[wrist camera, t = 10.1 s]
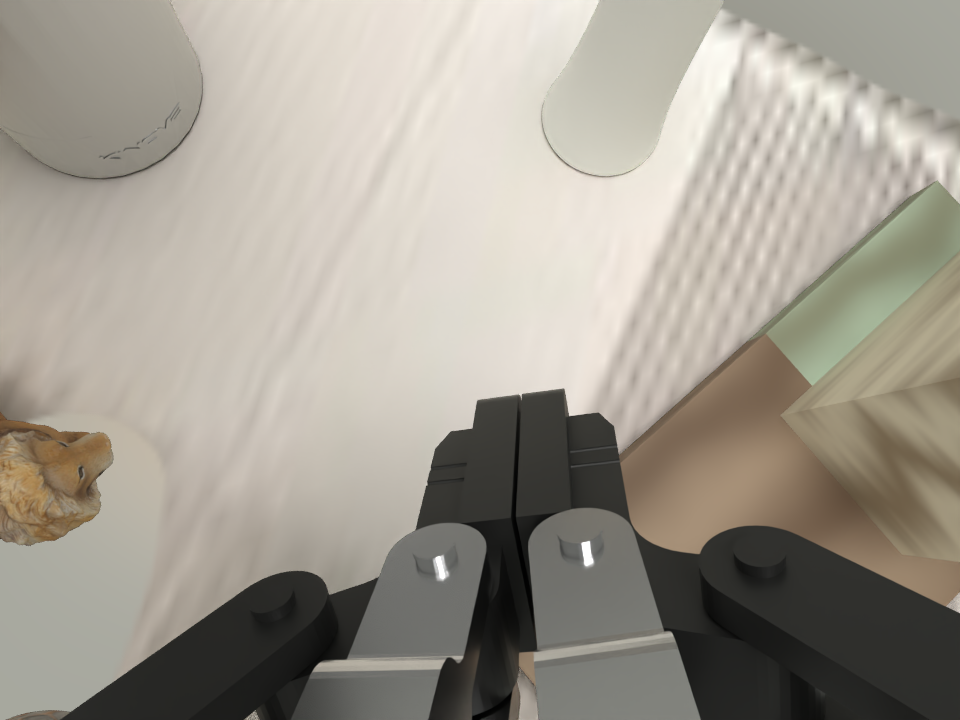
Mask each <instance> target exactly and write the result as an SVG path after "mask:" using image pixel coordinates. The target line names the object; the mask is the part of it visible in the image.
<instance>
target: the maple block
mask: <svg viewBox="0 0 960 720" xmlns="http://www.w3.org/2000/svg"><path fill="white" fill-rule="evenodd" d="M780 416H781V417H782V418H783V419H784V420H785V421H786V423H787V424H788V425H789V426H790V427H791V428H792V429H793V431H794V432H795V433H796V434H797V435H798V436H799V437H800V439H801V440H802V441H803V442H804V443H805V444H806V445H807V447H808V448H809V449H810V450H811V451H812V452H813V453H814V455H815V456H816V457H817V458H818V459H819V460H820V461H821V463H822V464H823V465H824V466H825V467H826V468H827V469H828V471H829V472H830V473H831V474H832V475H833V476H834V477H835V479H836V480H837V481H838V482H839V483H840V484H841V485H842V487H843V488H844V489H845V490H846V491H847V492H848V493H849V495H850V496H851V497H852V498H853V499H854V500H855V501H856V503H857V504H858V505H859V506H860V507H861V508H862V509H863V511H864V512H865V513H866V514H867V515H868V516H869V517H870V519H871V520H872V521H873V522H874V523H875V524H876V525H877V527H878V528H879V529H880V530H881V531H882V532H883V534H884V535H885V536H886V537H887V538H888V539H889V540H890V542H891V543H892V544H893V545H894V546H895V547H896V548H897V550H898V551H899V552H900V553H901V554H902V555H909V556H917V557H925V558H932V559H940V560H948V561H956V562H960V251H959V252H958V253H957V254H956V255H955V256H954V257H952V258H951V259H950V260H949V261H948V262H947V263H946V264H945V265H944V266H943V267H942V268H940V269H939V270H938V271H937V272H936V273H935V274H934V275H933V276H932V277H931V278H930V279H928V280H927V281H926V282H925V283H924V284H923V285H922V286H921V287H920V288H919V289H918V290H916V291H915V292H914V293H913V294H912V295H911V296H910V297H909V298H908V299H907V300H906V301H904V302H903V303H902V304H901V305H900V306H899V307H898V308H897V309H896V310H895V311H894V312H892V313H891V314H890V315H889V316H888V317H887V318H886V319H885V320H884V321H883V322H882V323H880V324H879V325H878V326H877V327H876V328H875V329H874V330H873V331H872V332H871V333H870V334H868V335H867V336H866V337H865V338H864V339H863V340H862V341H861V342H860V343H859V344H858V345H856V346H855V347H854V348H853V349H852V350H851V351H850V352H849V353H848V354H847V355H846V356H844V357H843V358H842V359H841V360H840V361H839V362H838V363H837V364H836V365H835V366H834V367H832V368H831V369H830V370H829V371H828V372H827V373H826V374H825V375H824V376H823V377H821V378H820V379H819V380H818V381H817V382H816V383H815V384H814V385H813V386H812V387H811V388H809V389H808V390H807V391H806V392H805V393H804V394H803V395H802V396H801V397H800V398H799V399H797V400H796V401H795V402H794V403H793V404H792V405H791V406H790V407H789V408H788V409H787V410H785V411H784V412H783V413H782V414H781V415H780Z"/></svg>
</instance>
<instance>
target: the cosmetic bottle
mask: <svg viewBox="0 0 960 720" xmlns="http://www.w3.org/2000/svg"><path fill="white" fill-rule="evenodd" d="M724 1H725V0H600V1H599V3H598V5H597V7H596V9H595V12H594V14H593V16H592V18H591V20H590V22H589V24H588V26H587V28H586V30H585V32H584V34H583V36H582V38H581V40H580V42H579V44H578V46H577V47H576V49H575V51H574V53H573V55H572V56H571V58H570V60H569V61H568V63H567V64H566V66H565V68H564V69H563V71H562V72H561V73H560V75H559V76H558V78H557V79H556V80H555V82H554V83H553V84H552V85H551V87H550V89H549V90H548V92H547V95H546V97H545V100H544V103H543V109H542V122H543V128H544V132H545V135H546V137H547V140H548V141H549V143H550V145H551V147H552V148H553V150H554V151H555V152H556V153H557V155H558V156H559V157H560V158H561V159H562V160H564V161H565V162H566V163H567V164H569V165H570V166H572V167H574V168H575V169H577V170H580V171H582V172H585V173H588V174H592V175H597V176H613V175H619V174H623V173H626V172H628V171H631V170H633V169H634V168H636V167H638V166H639V165H640V164H642V163H643V162H644V161H645V160H646V159H647V158H648V157H649V156H650V155H651V153H652V152H653V150H654V149H655V147H656V145H657V142H658V140H659V137H660V133H661V130H662V126H663V123H664V120H665V117H666V115H667V112H668V109H669V107H670V105H671V102H672V100H673V98H674V95H675V93H676V91H677V89H678V87H679V85H680V83H681V81H682V79H683V77H684V75H685V73H686V71H687V69H688V67H689V65H690V63H691V61H692V59H693V57H694V56H695V54H696V52H697V50H698V48H699V46H700V44H701V43H702V41H703V39H704V37H705V35H706V33H707V31H708V30H709V28H710V26H711V24H712V22H713V21H714V19H715V17H716V15H717V13H718V12H719V10H720V8H721V6H722V4H723V2H724Z"/></svg>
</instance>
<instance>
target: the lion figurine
mask: <svg viewBox="0 0 960 720" xmlns="http://www.w3.org/2000/svg"><path fill="white" fill-rule="evenodd" d="M112 463H113V453H112V450H111V443H110V440H109V438H108V437H107V435H106V434H104V433H100V432H97V433H91V434H90V433H87V432H67V431H66V432H58V431H57V430H55V429H53V428H51V427H49V426H45V425H36V424H30V423H26V422H19V421H11V420H7V419H6V418H5V417H4V416H3V415H2V413H1V412H0V539H3V541H5V542H15V543H17V544H18V545H27V546H31V545H33V544H35V543H40V542H44V541H55V540H57V539H58V538H60V537H63V536H65V535H66V534H67V533H68V532H69V531H71V530H73V529H75V528H77V527H79V526H80V525H81V524H83V523H84V522H88V521H90V520H92V519H93V518H94V517H95V516H96V515H97V514H98V513H99V511H100V507H101V502H100V501H99V498H100V496H101V494H100V492H99V491H98V489H97V483H96V479H97V477H98V476H100V475H101V474H102V473H103V472H104V471H105V470H106V469H107V468H108V467H109V466H110V465H111V464H112Z"/></svg>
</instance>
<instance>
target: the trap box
mask: <svg viewBox="0 0 960 720" xmlns="http://www.w3.org/2000/svg"><path fill="white" fill-rule="evenodd" d="M959 251H960V204H959V203H958V202H957V201H956V200H955V199H954V198H953V197H952V196H951V195H950V194H949V193H948V191H947V190H946V189H945V188H944V187H943V186H942V185H941V184H940V183H939V182H938V181H935V182H934V183H932V184H930V185H929V186H927V187H925V188H924V189H922V190H920V191H919V192H917V193H915V194H914V195H912V196H911V197H909V198H908V199H907V200H906V201H905V202H904V203H903V204H902V205H900V206H899V207H898V208H897V209H896V210H895V211H894V212H893V213H891V214H890V215H889V216H888V217H887V218H886V219H885V220H884V221H882V222H881V223H880V224H879V225H878V226H877V227H876V228H875V229H873V230H872V231H871V232H870V233H869V234H868V235H867V236H866V237H864V238H863V239H862V240H861V241H860V242H859V243H858V244H857V245H855V246H854V247H853V248H852V249H851V250H850V251H849V252H848V253H846V254H845V255H844V256H843V257H842V258H841V259H840V260H839V261H837V262H836V263H835V264H834V265H833V266H832V267H831V268H830V269H828V270H827V271H826V272H825V273H824V274H823V275H822V276H821V277H819V278H818V279H817V280H816V281H815V282H814V283H813V284H812V285H810V286H809V287H808V288H807V289H806V290H805V291H804V292H803V293H801V294H800V295H799V296H798V297H797V298H796V299H795V300H794V301H792V302H791V303H790V304H789V305H788V306H787V307H786V308H785V309H783V310H782V311H781V312H780V313H779V314H778V315H777V316H776V317H774V318H773V319H772V320H771V321H770V322H769V323H768V324H767V325H765V326H764V327H763V328H762V329H761V330H760V331H759V332H758V333H756V334H755V335H754V336H753V337H752V338H751V339H750V340H749V341H747V342H746V343H745V344H744V345H743V346H742V347H741V348H740V349H738V350H737V351H736V352H735V353H734V354H733V355H732V356H731V357H729V358H728V359H727V360H726V361H725V362H724V363H723V364H722V365H720V366H719V367H718V368H717V369H716V370H715V371H714V372H713V373H711V374H710V375H709V376H708V377H707V378H706V379H705V380H704V381H702V382H701V383H700V384H699V385H698V386H697V387H696V388H695V389H693V390H692V391H691V392H690V393H689V394H688V395H687V396H686V397H684V398H683V399H682V400H681V401H680V402H679V403H678V404H677V405H675V406H674V407H673V408H672V409H671V410H670V411H669V412H668V413H666V414H665V415H664V416H663V417H662V418H661V419H660V420H659V421H657V422H656V423H655V424H654V425H653V426H652V427H651V428H650V429H648V430H647V431H646V432H645V433H644V434H643V435H642V436H641V437H639V438H638V439H637V440H636V441H635V442H634V443H633V444H632V445H630V446H629V447H628V448H627V449H626V450H625V451H624V452H623V453H621V454H620V455H619V459H620V465H621V470H622V476H623V482H624V487H625V493H626V499H627V504H628V510H629V516H630V520H631V523H632V525H633V527H634V529H635V530H636V531H637V532H638V533H639V534H640V535H641V536H642V537H643V538H645V539H646V540H648V541H649V542H651V543H653V544H655V545H657V546H660V547H662V548H666V549H669V550H673V551H679V552H686V553H694V554H700V552H701V550H702V548H703V546H704V545H705V544H706V542H707V541H709V540H710V539H711V538H712V537H714V536H715V535H717V534H719V533H721V532H723V531H726V530H728V529H732V528H736V527H741V526H754V525H759V526H770V527H776V528H780V529H784V530H787V531H790V532H792V533H795V534H797V535H799V536H801V537H803V538H805V539H807V540H809V541H812V542H814V543H816V544H818V545H820V546H822V547H824V548H826V549H828V550H830V551H832V552H834V553H836V554H838V555H840V556H842V557H845V558H847V559H849V560H851V561H853V562H855V563H857V564H859V565H861V566H863V567H865V568H867V569H869V570H871V571H873V572H875V573H878V574H880V575H882V576H884V577H886V578H888V579H890V580H892V581H894V582H896V583H898V584H900V585H902V586H904V587H906V588H908V589H911V590H913V591H915V592H917V593H919V594H921V595H923V596H925V597H927V598H929V599H931V600H933V601H935V602H937V603H939V604H941V605H944V606H947V605H948V604H949V603H950V601H951V600H952V599H953V598H954V597H955V596H956V595H957V594H958V593H959V592H960V562H956V561H948V560H940V559H932V558H925V557H917V556H909V555H902V554H901V553H900V552H899V551H898V550H897V548H896V547H895V546H894V545H893V544H892V543H891V542H890V540H889V539H888V538H887V537H886V536H885V535H884V534H883V532H882V531H881V530H880V529H879V528H878V527H877V525H876V524H875V523H874V522H873V521H872V520H871V519H870V517H869V516H868V515H867V514H866V513H865V512H864V511H863V509H862V508H861V507H860V506H859V505H858V504H857V503H856V501H855V500H854V499H853V498H852V497H851V496H850V495H849V493H848V492H847V491H846V490H845V489H844V488H843V487H842V485H841V484H840V483H839V482H838V481H837V480H836V479H835V477H834V476H833V475H832V474H831V473H830V472H829V471H828V469H827V468H826V467H825V466H824V465H823V464H822V463H821V461H820V460H819V459H818V458H817V457H816V456H815V455H814V453H813V452H812V451H811V450H810V449H809V448H808V447H807V445H806V444H805V443H804V442H803V441H802V440H801V439H800V437H799V436H798V435H797V434H796V433H795V432H794V431H793V429H792V428H791V427H790V426H789V425H788V424H787V423H786V421H785V420H784V419H783V418H782V417H781V416H780V415H781V414H782V413H783V412H784V411H785V410H787V409H788V408H789V407H790V406H791V405H792V404H793V403H794V402H795V401H796V400H797V399H799V398H800V397H801V396H802V395H803V394H804V393H805V392H806V391H807V390H808V389H809V388H811V387H812V386H813V385H814V384H815V383H816V382H817V381H818V380H819V379H820V378H821V377H823V376H824V375H825V374H826V373H827V372H828V371H829V370H830V369H831V368H832V367H834V366H835V365H836V364H837V363H838V362H839V361H840V360H841V359H842V358H843V357H844V356H846V355H847V354H848V353H849V352H850V351H851V350H852V349H853V348H854V347H855V346H856V345H858V344H859V343H860V342H861V341H862V340H863V339H864V338H865V337H866V336H867V335H868V334H870V333H871V332H872V331H873V330H874V329H875V328H876V327H877V326H878V325H879V324H880V323H882V322H883V321H884V320H885V319H886V318H887V317H888V316H889V315H890V314H891V313H892V312H894V311H895V310H896V309H897V308H898V307H899V306H900V305H901V304H902V303H903V302H904V301H906V300H907V299H908V298H909V297H910V296H911V295H912V294H913V293H914V292H915V291H916V290H918V289H919V288H920V287H921V286H922V285H923V284H924V283H925V282H926V281H927V280H928V279H930V278H931V277H932V276H933V275H934V274H935V273H936V272H937V271H938V270H939V269H940V268H942V267H943V266H944V265H945V264H946V263H947V262H948V261H949V260H950V259H951V258H952V257H954V256H955V255H956V254H957V253H958V252H959ZM519 667H520V668H521V669H522V670H523V672H524V673H525V674H526V675H527V677H528V678H529V679H530V680H531V681H532V683H533V684H534V685H535V686H536V682H535V671H534V652H522V653H519Z"/></svg>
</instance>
